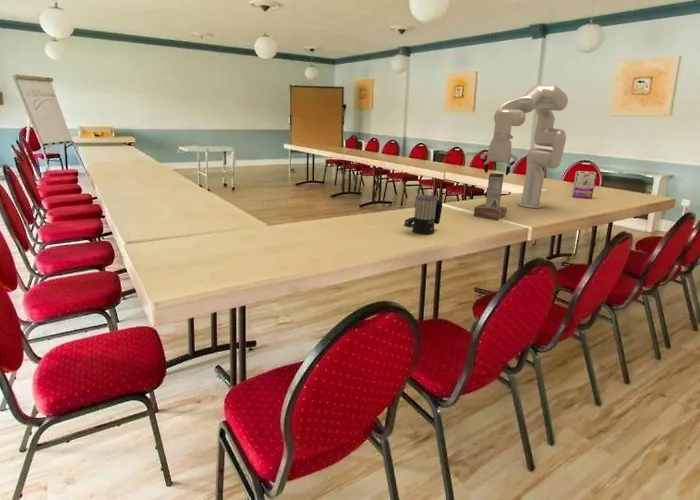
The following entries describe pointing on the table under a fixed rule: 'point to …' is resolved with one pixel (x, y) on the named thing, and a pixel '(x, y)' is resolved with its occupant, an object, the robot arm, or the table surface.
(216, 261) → the table surface
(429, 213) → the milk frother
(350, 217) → the table surface
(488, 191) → the coffee box
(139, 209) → the table surface
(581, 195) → the candy bar box
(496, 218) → the walnut block
